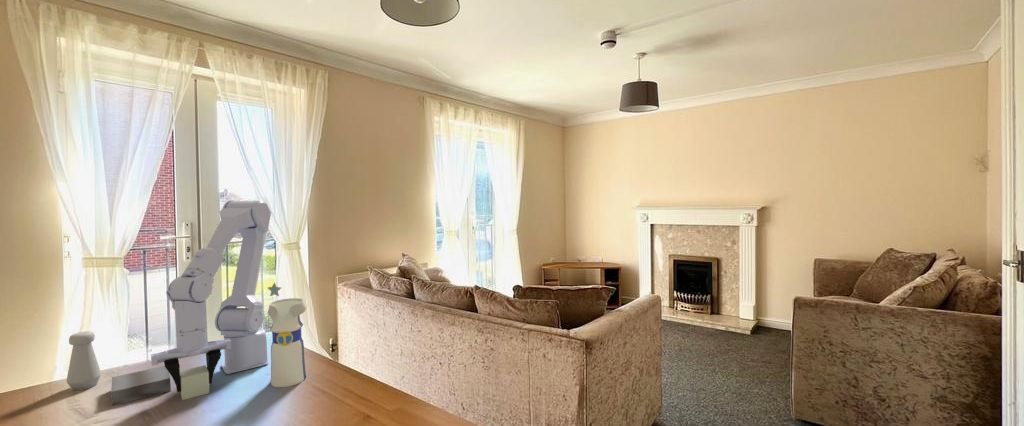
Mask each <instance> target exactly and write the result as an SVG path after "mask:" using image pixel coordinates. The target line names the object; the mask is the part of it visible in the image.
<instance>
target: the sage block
mask: <svg viewBox="0 0 1024 426" xmlns="http://www.w3.org/2000/svg"><path fill="white" fill-rule="evenodd" d="M180 383H181V392H179V393H180V396H181V398H180V399H181V400H182V401H184V400H189V399H191V398H196V397H199V396H202V395H206V394H210V384H209V372H208V369H207V364H206V365H199V366H196V367H191V368H187V369H182V370H180Z"/></svg>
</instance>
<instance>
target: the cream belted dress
mask: <svg viewBox="0 0 1024 426" xmlns="http://www.w3.org/2000/svg"><path fill="white" fill-rule="evenodd" d="M267 289H268V290H269V291H270V294H269V297H273V296H274V295H275V296H277V297H279V296H280V294H279V291H280V290H281V289H282V287H281V286H277V284H276V283H275V282H273V283H272V286H268V287H267ZM307 308H308V305H307V304H306V302H305V300H304V299H303V298H297V297H291V298H290V297H289V298H282V299H277V300H274V301H272V302H271V303H269V306H268V310H267V315H268V316H269V317H270V319H271V320H272V325H271V327H270V328H269V329H270V331H271V335H272V342H271V346H270V365H271V366H270V385H271V386H272V387H274V388H287V387H292V386H295V385H298V384H300V382H301V383H302V382H304V381H305V380H306V379H307V374H306V373H307V371H306V359H305V345H304V339H303V338H302V327H303V325H304V324H303V322H302V321H301V318H300V315H302V314H304V312H305V311H306V310H307ZM305 378H306V379H305ZM303 380H304V381H303Z"/></svg>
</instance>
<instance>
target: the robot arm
mask: <svg viewBox="0 0 1024 426" xmlns="http://www.w3.org/2000/svg"><path fill="white" fill-rule="evenodd" d="M219 215H220V217H219V218H220V221H219V223H218V225H217V227H216V229H215V231H214V233H213V235H212V236H211V238H210V240H209V242H208V244H207V246H205V247H203V248H202V247H201V248H199V249H198V250H197V251H196V252H195V253H194V255H193V257H192V259H191V261H190V262H189V263H188V265H187V267H185V269H184V271H183V273H182V274H181V276H178V277H175V278H174V279H173V280H172V281H171V282H170V283H169V285H168V289H167V290H166V291H165V294H166V297H167V299H168V300H169V301H170V302H171V308H172V309H173V310H174V319H175V320H174V321H175V322H174V323H175V340H176V341H175V342H176V347H174V348H170V349H168V350H164V351H161V352H157V353H152V354H151V355H150V361H151V366H156V365H159V364H162V363H163V365H164V366H165V367H166V369H167V370H168V372H169V375H170V377H171V378H172V379H173V381H174V384H175V387H176V388H175V389H176V393H180V392H181V383H180V371H181V369H180V368H181V367H180V363H179V362H180V361H179V360H180V359H184V358H190V357H194V356H198V355H204V354H205V356H206V358H205V359H206V367H207V369H208V372H209V385H211V384H213V383H212V382H213V377H214V373H215V369H216V367H217V364H218V362H219V361H220V359H221V357H222V351H221V350H224V351H223V352H224V353H223V354H224V362H222V363H221V364H220V365H221V368H222V370H223V371H224V374H225V375H229V374H234V373H238V372H242V371H246V370H250V369H255V368H257V367H262V366H267V365H268V364H269V362H268V343H267V342H268V341H267V334H266V331H265V329H264V328H261V327H262V325H263V323H264V313H263V312H264V311H263V310H264V303H263V302H261V301H260V300H259V299H258V298H257V297H256V296H255V295H256V291H257V286H258V280H259V276H260V270H261V265H262V261H263V260H262V259H263V254H264V248H265V241H266V238H267V237H266V236H267V233H268V231H269V226H270V220H271V215H272V212H271V209H270V207H269V205H268V204H267V202H266V201H264V200H262V199H258V200H232V199H231V200H230V199H229V200H227V201H226V202H225V203H224V204H223V206H222V208H221V209H220V211H219ZM237 233H239V234H240V236H241V237H242V240H241V246H240V249H239V255H238V260H237V261H238V262H237V264H236V270H235V276H234V281H233V285H232V290H231V295H229V296H228V297H227V298H225V300H223V301H222V302H221V303H220V308H219V310H218V312H217V313H216V316H215V318H214V326H215V328H216V330H217V331H219V332H220V335H221V336H223V339H220V340H219V339H218V340H212V341H209V339H208V323H207V322H208V321H207V319H208V318H207V299H208V298H209V297H210V295H211V294H212V291H213V284H214V282H215V281H214V277H215V275H216V273H217V272H218V271H219V269H220V267H221V265H222V264H223V262H224V255H223V252H224V251H225V249H226V248H227V247H228V245H229V244H230V242H231V241H232V240H233V238H234V237H235V236H236V234H237Z"/></svg>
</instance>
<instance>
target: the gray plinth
mask: <svg viewBox="0 0 1024 426" xmlns="http://www.w3.org/2000/svg"><path fill="white" fill-rule="evenodd" d="M171 391H172V389H171V375H170V373H169V372H168V370H167V369H166V367H165V365H161V366H158V367H154V368H148V369H144V370H140V371H135V372H130V373H126V374H121V375H116V376H112V377H111V392H110V393H111V405H112V406H115V405H119V404H123V403H127V402H131V401H134V400H139V399H143V398H146V397H150V396H155V395H156V396H157V395H159V394H163V393H167V392H171Z"/></svg>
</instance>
